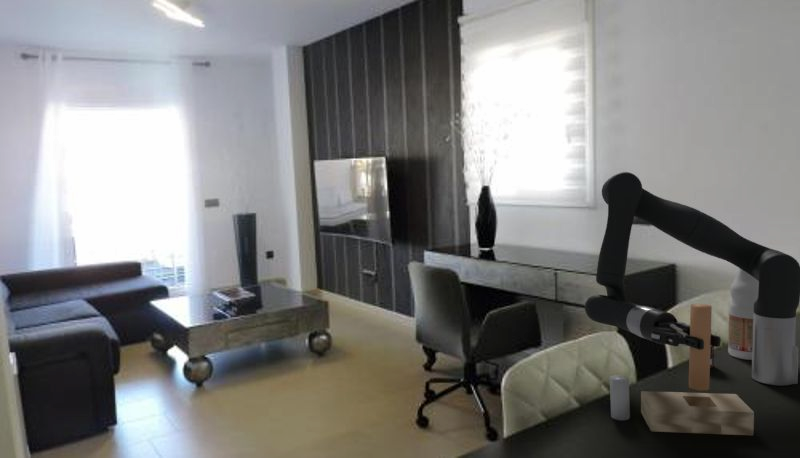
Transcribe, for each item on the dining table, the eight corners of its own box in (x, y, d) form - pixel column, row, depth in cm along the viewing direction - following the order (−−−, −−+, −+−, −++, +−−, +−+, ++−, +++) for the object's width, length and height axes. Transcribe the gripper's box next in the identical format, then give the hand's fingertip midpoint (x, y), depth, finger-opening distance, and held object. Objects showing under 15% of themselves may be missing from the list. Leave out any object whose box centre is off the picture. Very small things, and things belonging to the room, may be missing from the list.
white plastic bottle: (723, 356, 174) (725, 260, 171) (734, 348, 181) (736, 256, 178) (759, 363, 167) (762, 263, 164) (769, 354, 174) (772, 259, 171)
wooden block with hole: (735, 415, 134) (736, 394, 134) (753, 435, 124) (754, 412, 124) (640, 412, 138) (641, 391, 137) (651, 431, 128) (651, 408, 127)
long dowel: (705, 384, 132) (708, 303, 130) (711, 391, 128) (714, 308, 126) (686, 383, 132) (688, 303, 130) (691, 390, 128) (693, 307, 126)
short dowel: (627, 412, 137) (625, 374, 136) (632, 420, 133) (630, 381, 132) (609, 413, 138) (607, 375, 137) (613, 420, 134) (612, 381, 133)
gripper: (627, 311, 140) (685, 330, 123) (675, 305, 144) (737, 322, 128) (626, 343, 140) (684, 365, 124) (674, 335, 145) (735, 356, 129)
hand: (710, 343), depth 126 cm, fingers closed on long dowel, 4 cm apart
